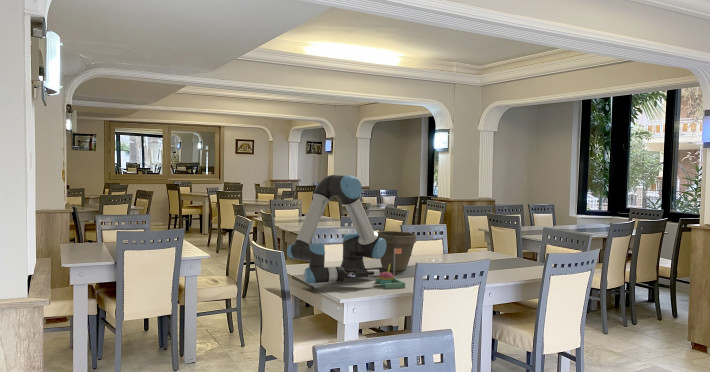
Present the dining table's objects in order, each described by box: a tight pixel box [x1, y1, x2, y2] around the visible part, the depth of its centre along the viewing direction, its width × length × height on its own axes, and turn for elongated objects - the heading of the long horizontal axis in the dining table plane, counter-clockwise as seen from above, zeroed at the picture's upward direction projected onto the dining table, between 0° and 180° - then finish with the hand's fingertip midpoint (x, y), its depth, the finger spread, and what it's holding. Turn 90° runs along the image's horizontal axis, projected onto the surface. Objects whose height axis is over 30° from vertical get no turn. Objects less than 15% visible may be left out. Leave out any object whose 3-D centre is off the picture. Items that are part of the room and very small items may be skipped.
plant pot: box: [376, 230, 417, 272], centre depth 339 cm, size 25×25×22 cm
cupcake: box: [377, 264, 394, 287], centre depth 291 cm, size 9×8×12 cm
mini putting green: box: [374, 248, 406, 290], centre depth 292 cm, size 15×16×18 cm
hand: (378, 272), depth 289 cm, fingers closed
